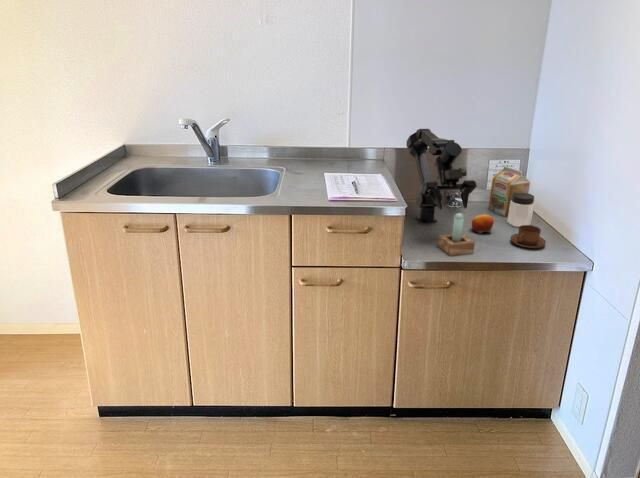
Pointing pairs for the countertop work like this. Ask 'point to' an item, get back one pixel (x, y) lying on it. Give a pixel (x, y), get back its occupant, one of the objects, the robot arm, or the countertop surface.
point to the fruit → (482, 223)
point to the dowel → (457, 227)
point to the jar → (521, 209)
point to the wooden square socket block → (456, 245)
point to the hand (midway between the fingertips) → (453, 208)
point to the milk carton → (506, 189)
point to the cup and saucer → (528, 237)
